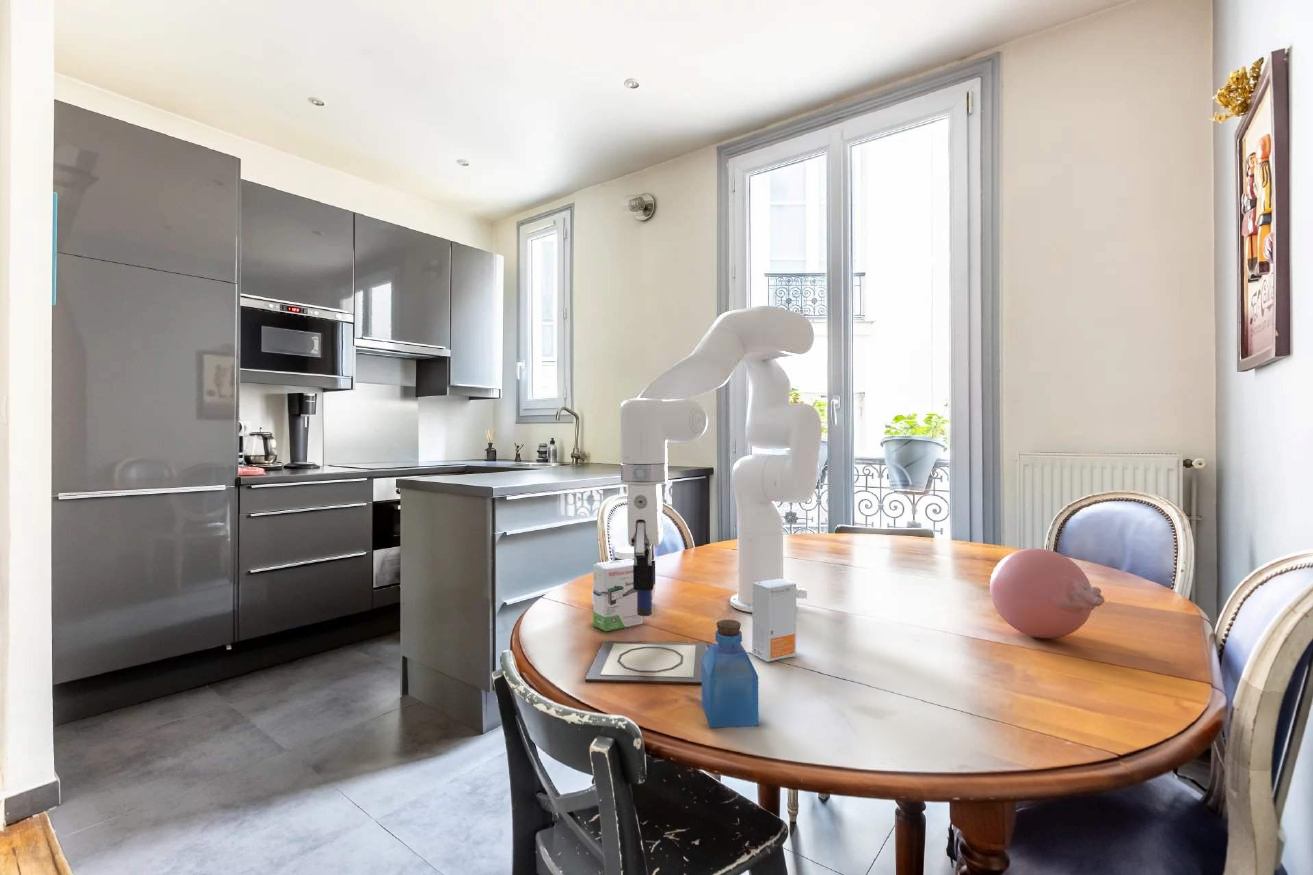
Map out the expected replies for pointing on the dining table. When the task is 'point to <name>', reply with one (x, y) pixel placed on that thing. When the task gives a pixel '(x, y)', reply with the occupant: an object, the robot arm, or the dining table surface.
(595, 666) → the drawing board
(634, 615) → the ink box
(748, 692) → the perfume bottle
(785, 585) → the cosmetic box
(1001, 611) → the balloon
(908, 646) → the dining table surface
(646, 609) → the marker
